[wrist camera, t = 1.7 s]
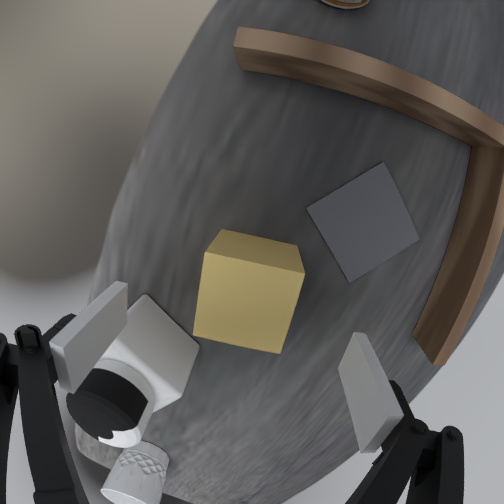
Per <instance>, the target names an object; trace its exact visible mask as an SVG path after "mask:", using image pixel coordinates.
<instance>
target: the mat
mask: <svg viewBox="0 0 504 504" xmlns="http://www.w3.org/2000/svg"><path fill="white" fill-rule="evenodd" d="M306 209H307V211H308V213H309V214H310V216H311V218H312V219H313V221H314V223H315V224H316V226H317V228H318V229H319V231H320V233H321V234H322V236H323V238H324V240H325V241H326V243H327V245H328V246H329V248H330V250H331V252H332V253H333V255H334V257H335V259H336V261H337V262H338V264H339V266H340V268H341V269H342V271H343V273H344V275H345V277H346V279H347V280H348V282H349V283H351V282H353V281H354V280H356V279H358V278H359V277H361V276H363V275H364V274H366V273H368V272H369V271H371V270H372V269H374V268H376V267H377V266H379V265H381V264H382V263H384V262H385V261H387V260H389V259H390V258H392V257H393V256H395V255H396V254H398V253H400V252H401V251H403V250H404V249H406V248H407V247H409V246H410V245H412V244H413V243H415V242H416V241H418V240H419V239H420V238H419V236H418V233H417V231H416V229H415V226H414V224H413V221H412V219H411V217H410V215H409V212H408V210H407V208H406V206H405V203H404V201H403V199H402V197H401V195H400V193H399V191H398V188H397V186H396V184H395V182H394V180H393V178H392V176H391V174H390V172H389V170H388V169H387V167H386V165H385V163H384V161H383V162H381V163H379V164H378V165H376V166H374V167H373V168H371V169H369V170H368V171H366V172H364V173H363V174H361V175H359V176H358V177H356V178H354V179H353V180H351V181H349V182H348V183H346V184H344V185H343V186H341V187H339V188H338V189H336V190H334V191H333V192H331V193H330V194H328V195H326V196H325V197H323V198H321V199H320V200H318V201H316V202H315V203H313V204H311V205H310V206H308V207H306Z"/></svg>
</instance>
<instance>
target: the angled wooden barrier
mask: <svg viewBox="0 0 504 504" xmlns="http://www.w3.org/2000/svg"><path fill="white" fill-rule="evenodd" d="M233 48H234V51H235V54H236V56H237V59H238V62H239V65H240V67H241V70H247V71H254V72H259V73H265V74H271V75H276V76H281V77H286V78H290V79H295V80H299V81H303V82H307V83H311V84H315V85H319V86H323V87H327V88H330V89H334V90H337V91H341V92H344V93H347V94H350V95H353V96H357V97H360V98H363V99H366V100H369V101H371V102H374V103H377V104H380V105H382V106H385V107H388V108H390V109H393V110H396V111H398V112H401V113H403V114H405V115H408V116H410V117H413V118H415V119H417V120H420V121H422V122H424V123H426V124H428V125H431V126H433V127H435V128H437V129H439V130H441V131H443V132H445V133H447V134H449V135H451V136H453V137H455V138H457V139H459V140H461V141H463V142H465V143H466V144H468V145H470V146H472V149H471V155H470V160H469V166H468V171H467V176H466V181H465V185H464V190H463V194H462V198H461V202H460V206H459V210H458V214H457V217H456V221H455V224H454V228H453V231H452V234H451V238H450V241H449V244H448V247H447V250H446V253H445V256H444V259H443V262H442V265H441V267H440V270H439V273H438V275H437V278H436V281H435V283H434V286H433V288H432V291H431V293H430V296H429V298H428V300H427V303H426V305H425V307H424V310H423V312H422V314H421V316H420V318H419V321H418V323H417V325H416V327H415V329H414V331H413V333H412V335H413V336H414V338H415V339H416V341H417V342H418V344H419V345H420V347H421V348H422V350H423V351H424V353H425V354H426V356H427V357H428V359H429V360H430V362H431V363H432V365H445V363H446V362H447V360H448V358H449V357H450V355H451V353H452V351H453V349H454V348H455V346H456V344H457V342H458V340H459V338H460V336H461V334H462V332H463V330H464V328H465V326H466V324H467V322H468V320H469V318H470V316H471V314H472V312H473V310H474V307H475V305H476V303H477V301H478V298H479V296H480V294H481V291H482V289H483V286H484V284H485V281H486V279H487V276H488V273H489V271H490V268H491V265H492V262H493V259H494V256H495V253H496V250H497V247H498V244H499V241H500V237H501V234H502V231H503V227H504V126H503V125H502V124H500V123H499V122H497V121H496V120H494V119H493V118H491V117H490V116H488V115H487V114H485V113H484V112H482V111H481V110H479V109H477V108H476V107H474V106H473V105H471V104H469V103H468V102H466V101H464V100H463V99H461V98H459V97H457V96H456V95H454V94H452V93H450V92H448V91H446V90H445V89H443V88H441V87H439V86H437V85H435V84H433V83H431V82H429V81H427V80H425V79H423V78H421V77H418V76H416V75H414V74H412V73H410V72H407V71H405V70H403V69H400V68H398V67H395V66H393V65H391V64H388V63H385V62H383V61H380V60H378V59H375V58H372V57H369V56H367V55H364V54H361V53H358V52H355V51H352V50H348V49H345V48H342V47H338V46H335V45H331V44H328V43H324V42H320V41H316V40H312V39H308V38H304V37H299V36H295V35H290V34H285V33H279V32H274V31H268V30H261V29H254V28H247V27H238V29H237V33H236V36H235V40H234V44H233Z"/></svg>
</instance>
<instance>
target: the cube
mask: <svg viewBox="0 0 504 504" xmlns="http://www.w3.org/2000/svg"><path fill="white" fill-rule="evenodd" d="M304 276H305V271H304V267H303V264H302V260H301V257H300V253H299V250H298V246H297V245H293V244H289V243H284V242H280V241H275V240H271V239H266V238H262V237H257V236H252V235H248V234H243V233H239V232H234V231H229V230H225V229H221V230H220V232H219V233H218V234H217V236H216V237H215V238H214V240H213V241H212V243H211V244H210V245H209V247H208V248H207V250H206V251H205V254H204V261H203V267H202V273H201V280H200V286H199V293H198V300H197V307H196V314H195V322H194V329H193V335H194V336H198V337H202V338H206V339H211V340H215V341H219V342H224V343H228V344H232V345H237V346H242V347H247V348H251V349H256V350H262V351H267V352H272V353H278V354H280V353H281V350H282V347H283V344H284V341H285V338H286V335H287V332H288V329H289V325H290V322H291V319H292V316H293V313H294V310H295V306H296V303H297V300H298V297H299V293H300V290H301V287H302V283H303V280H304Z"/></svg>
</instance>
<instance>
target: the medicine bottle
mask: <svg viewBox="0 0 504 504" xmlns="http://www.w3.org/2000/svg"><path fill="white" fill-rule="evenodd" d="M198 351H199V344H198V343H197V342H196V341H194V340H193V339H192V338H191V337H190V336H189V335H188V334H187V333H186V332H185V331H184V330H183V329H182V328H181V327H179V326H178V325H177V324H176V323H175V322H174V321H173V320H172V319H171V318H170V317H169V316H168V315H167V314H166V313H165V312H164V311H163V310H162V309H161V308H160V307H159V306H158V305H157V304H156V303H155V302H154V301H153V300H152V299H151V298H150V297H149V296H148V295H146V294H145V295H142V296H141V297H140V298H139V299H138V300H137V301H136V302H135V303H134V304H133V305H132V306H131V307H130V308H129V309H128V310H127V325H126V326H125V327H124V329H123V330H122V331H121V332H120V334H119V335H118V336H117V337H116V339H115V340H114V341H113V342H112V344H111V345H110V346H109V348H108V349H107V350H106V352H105V353H104V354H103V355H102V357H101V358H100V359H99V361H98V362H97V363H96V365H95V366H94V367H93V369H92V370H91V371H90V373H89V374H88V375H87V377H86V378H85V379H84V381H83V382H82V383H81V385H80V386H79V387H78V389H77V390H76V391H75V393H74V394H72V393H70V392H69V393H68V394H67V397H66V402H67V408H68V411H69V413H70V415H71V416H72V418H73V419H74V420H75V422H76V423H77V424H78V425H79V426H80V427H81V428H82V429H83V430H84V431H85V432H87V433H88V434H89V435H90V436H92V437H94V438H95V439H97V440H99V441H101V442H103V443H106V444H108V445H111V446H115V447H120V448H128V447H132V446H135V445H137V444H138V443H139V442H140V440H141V438H142V435H143V433H144V431H145V428H146V426H147V424H148V421H149V419H150V417H151V415H152V413H153V412H155V411H157V410H159V409H161V408H163V407H164V406H166V405H168V404H170V403H172V402H174V401H175V400H177V399H179V398H180V397H181V396H182V395H183V392H184V389H185V386H186V384H187V381H188V378H189V375H190V373H191V370H192V367H193V364H194V362H195V359H196V356H197V353H198Z"/></svg>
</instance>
